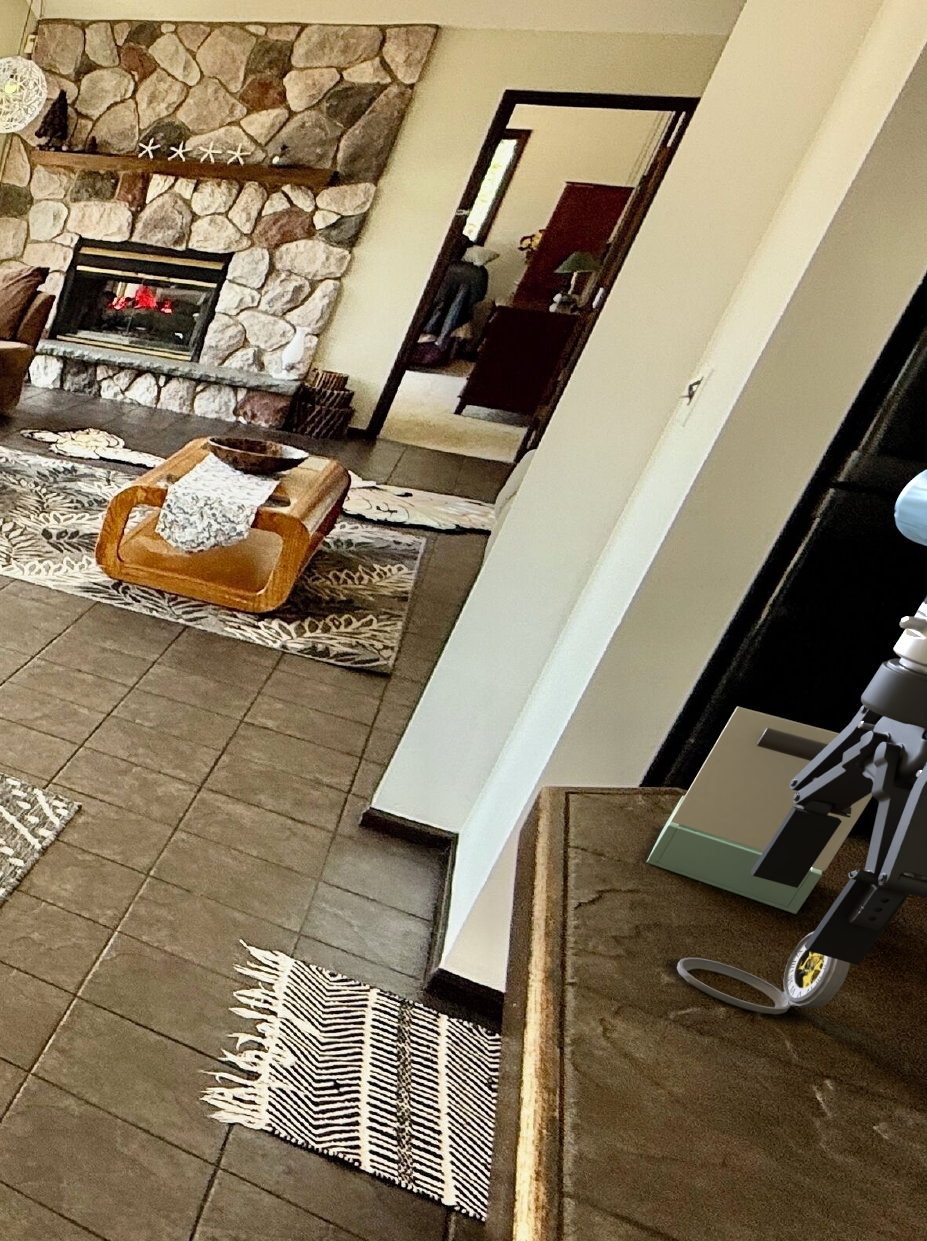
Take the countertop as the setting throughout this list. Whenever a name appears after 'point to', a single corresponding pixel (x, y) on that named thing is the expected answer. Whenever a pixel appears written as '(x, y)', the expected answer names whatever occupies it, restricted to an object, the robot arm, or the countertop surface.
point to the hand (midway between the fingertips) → (800, 916)
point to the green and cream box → (724, 865)
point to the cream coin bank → (757, 782)
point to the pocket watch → (795, 980)
